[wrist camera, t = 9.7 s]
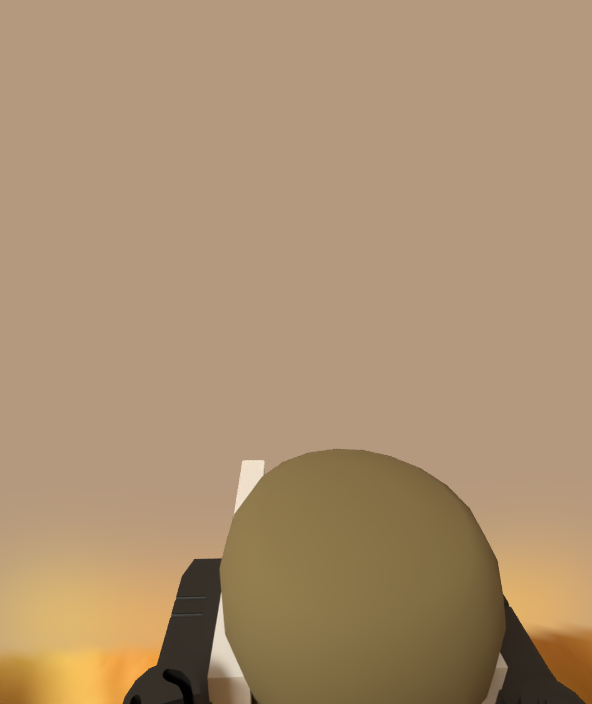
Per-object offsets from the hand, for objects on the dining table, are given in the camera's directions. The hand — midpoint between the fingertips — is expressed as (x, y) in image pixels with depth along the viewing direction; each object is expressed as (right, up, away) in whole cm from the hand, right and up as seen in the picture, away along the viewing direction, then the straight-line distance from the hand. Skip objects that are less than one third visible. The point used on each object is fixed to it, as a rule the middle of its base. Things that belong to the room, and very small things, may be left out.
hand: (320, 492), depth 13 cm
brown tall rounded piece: (0, -8, -3) cm, 9 cm away
